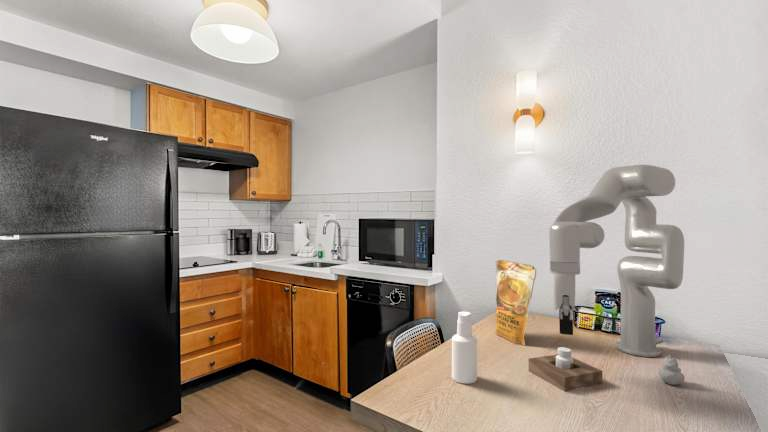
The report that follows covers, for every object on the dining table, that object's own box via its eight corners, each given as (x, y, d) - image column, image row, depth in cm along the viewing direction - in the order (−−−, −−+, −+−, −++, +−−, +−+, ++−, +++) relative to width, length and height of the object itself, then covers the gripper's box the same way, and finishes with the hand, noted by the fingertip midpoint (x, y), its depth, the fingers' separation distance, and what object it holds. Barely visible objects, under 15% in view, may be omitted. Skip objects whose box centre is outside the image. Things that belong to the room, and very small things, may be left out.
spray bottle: (477, 375, 101) (478, 311, 101) (475, 386, 95) (476, 317, 95) (453, 371, 103) (453, 309, 103) (449, 382, 97) (450, 314, 97)
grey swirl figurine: (653, 381, 98) (653, 351, 98) (667, 376, 101) (667, 348, 101) (676, 389, 93) (676, 358, 94) (690, 384, 96) (690, 354, 96)
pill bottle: (575, 381, 98) (575, 352, 98) (558, 379, 99) (558, 351, 99) (570, 374, 102) (570, 347, 102) (553, 373, 103) (553, 345, 103)
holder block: (563, 365, 109) (563, 353, 109) (602, 383, 96) (602, 370, 96) (528, 370, 104) (528, 358, 104) (564, 391, 92) (564, 377, 92)
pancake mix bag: (502, 329, 143) (502, 259, 143) (537, 345, 125) (538, 265, 125) (488, 331, 141) (488, 259, 141) (522, 347, 123) (522, 265, 123)
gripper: (550, 262, 110) (551, 318, 110) (549, 272, 94) (550, 336, 95) (578, 263, 107) (579, 321, 107) (582, 273, 91) (583, 340, 91)
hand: (565, 328), depth 101 cm, fingers open, 9 cm apart
